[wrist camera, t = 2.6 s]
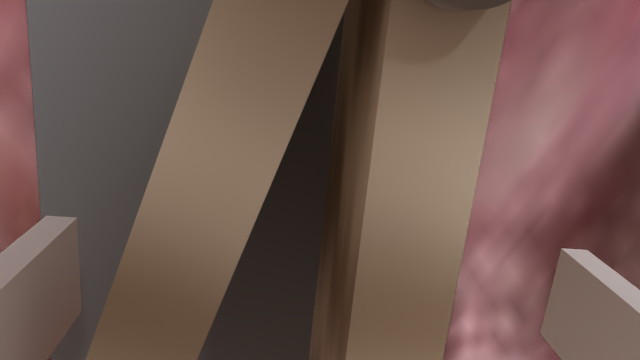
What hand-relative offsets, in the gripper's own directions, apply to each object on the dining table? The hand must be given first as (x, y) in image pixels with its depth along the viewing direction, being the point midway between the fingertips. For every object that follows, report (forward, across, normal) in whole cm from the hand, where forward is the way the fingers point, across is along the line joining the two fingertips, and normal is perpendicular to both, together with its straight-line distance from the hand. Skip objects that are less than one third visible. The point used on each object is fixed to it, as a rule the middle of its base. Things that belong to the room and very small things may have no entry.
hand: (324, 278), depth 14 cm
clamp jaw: (+3, -4, +1) cm, 5 cm away
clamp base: (+3, +1, +1) cm, 4 cm away
